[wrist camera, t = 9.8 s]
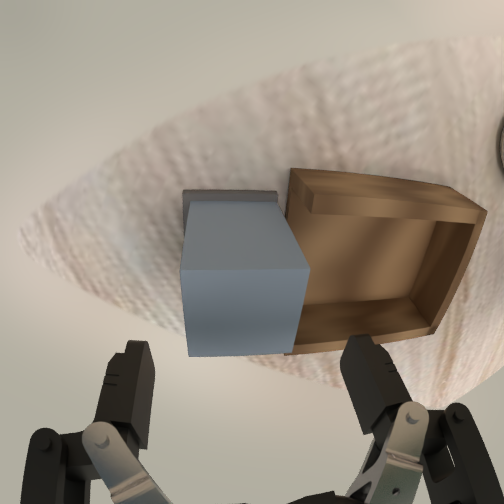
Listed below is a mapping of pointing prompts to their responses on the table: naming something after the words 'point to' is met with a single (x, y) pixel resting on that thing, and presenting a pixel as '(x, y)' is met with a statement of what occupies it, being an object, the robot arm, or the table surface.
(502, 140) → the can
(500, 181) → the table surface
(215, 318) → the block
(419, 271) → the crate
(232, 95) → the table surface
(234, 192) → the coaster
